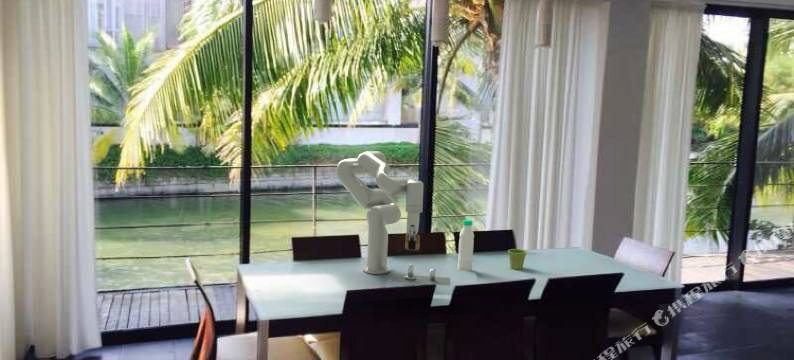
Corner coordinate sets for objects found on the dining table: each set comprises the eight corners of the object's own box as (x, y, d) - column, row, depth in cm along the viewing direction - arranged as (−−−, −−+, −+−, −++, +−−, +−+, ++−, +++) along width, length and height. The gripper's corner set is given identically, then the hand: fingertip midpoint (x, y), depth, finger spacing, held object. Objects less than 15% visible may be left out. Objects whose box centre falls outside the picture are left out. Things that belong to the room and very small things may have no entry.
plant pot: (517, 271, 328) (518, 254, 326) (502, 267, 335) (504, 250, 334) (529, 269, 334) (530, 252, 332) (515, 264, 341) (516, 248, 340)
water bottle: (474, 270, 327) (477, 220, 323) (468, 273, 321) (471, 222, 317) (461, 267, 330) (464, 218, 327) (454, 270, 324) (457, 220, 321)
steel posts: (405, 276, 304) (405, 262, 303) (435, 278, 303) (436, 264, 302) (404, 279, 299) (404, 265, 298) (434, 281, 298) (435, 267, 297)
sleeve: (405, 246, 303) (406, 233, 302) (419, 247, 302) (420, 234, 302) (404, 249, 296) (405, 236, 296) (418, 250, 296) (419, 237, 295)
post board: (393, 277, 308) (393, 273, 308) (450, 280, 306) (450, 277, 306) (391, 284, 296) (391, 281, 296) (449, 288, 294) (450, 285, 294)
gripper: (406, 204, 306) (405, 242, 308) (404, 211, 289) (402, 251, 291) (423, 205, 305) (421, 243, 308) (421, 212, 288) (419, 252, 290)
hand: (412, 247), depth 299 cm, fingers closed on sleeve, 6 cm apart
